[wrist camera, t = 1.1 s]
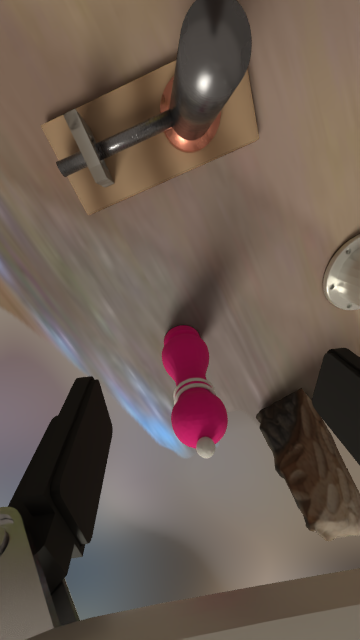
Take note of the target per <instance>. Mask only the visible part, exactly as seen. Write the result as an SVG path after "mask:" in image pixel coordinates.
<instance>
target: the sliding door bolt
mask: <svg viewBox="0 0 360 640" xmlns="http://www.w3.org/2000/svg"><path fill="white" fill-rule="evenodd" d="M251 46H252V40H251V30H250V25H249V22H248V19H247V16H246V14H245V12H244V10H243V8H242V7H241V5H240V4H239V3H238V1H237V0H196V1H195V2H194V3H193V4H192V6H191V7H190V9H189V10H188V12H187V14H186V16H185V19H184V21H183V24H182V28H181V34H180V40H179V47H178V53H177V60H176V66H175V73H174V77H172V78H171V80H170V81H169V82H168V84H167V85H166V87H165V89H164V92H163V94H162V98H161V104H160V114H158V115H155V116H153V117H151V118H149V119H147V120H145V121H143V122H140V123H138V124H136V125H134V126H132V127H130V128H128V129H126V130H123V131H121V132H119V133H117V134H115V135H113V136H111V137H108V138H106V139H104V140H102V141H100V142H98V143H96V144H94V147H95V150H96V152H97V154H98V156H99V158H100V161H101V160H104V159H106V158H108V157H110V156H112V155H114V154H117V153H119V152H121V151H123V150H125V149H127V148H130V147H132V146H134V145H136V144H138V143H140V142H143V141H145V140H147V139H149V138H151V137H153V136H156V135H158V134H160V133H162V132H164V135H165V136H166V138H167V140H168V141H169V142H170V144H171V145H172V146H173V147H175V148H176V149H178V150H180V151H182V152H185V153H194V152H197V151H200V150H202V149H203V148H204V147H206V146H207V145H208V144H209V143H210V141H211V140H212V139H213V137H214V136H215V134H216V132H217V130H218V127H219V124H220V119H221V110H222V108H223V107H224V106H225V104H226V103H227V101H228V100H229V98H230V97H231V95H232V94H233V92H234V91H235V89H236V88H237V86H238V85H239V83H240V82H241V80H242V79H243V77H244V75H245V73H246V71H247V68H248V65H249V61H250V56H251ZM56 163H57V166H58V168H59V170H60V172H61V173H62V174H63V176H64V177H67V176H69V175H71V174H73V173H75V172H78V171H80V170H82V169H84V168H86V167H88V166H87V164H86V162H85V160H84V157H83V155H82V153H81V151H79V152H76V153H74V154H72V155H70V156H68V157H66V158H64V159H62V160H59V161H57V162H56Z"/></svg>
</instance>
